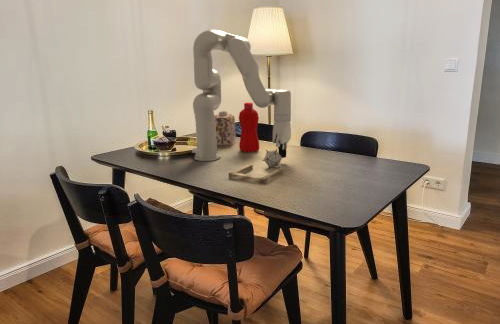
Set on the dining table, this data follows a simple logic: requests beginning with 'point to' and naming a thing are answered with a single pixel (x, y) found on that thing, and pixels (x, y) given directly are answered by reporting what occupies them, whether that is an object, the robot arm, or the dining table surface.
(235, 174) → the u-shaped tan bracket
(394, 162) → the dining table surface
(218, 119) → the decorative jar
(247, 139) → the water bottle
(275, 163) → the game die
